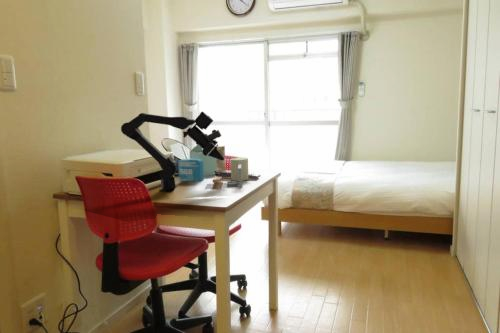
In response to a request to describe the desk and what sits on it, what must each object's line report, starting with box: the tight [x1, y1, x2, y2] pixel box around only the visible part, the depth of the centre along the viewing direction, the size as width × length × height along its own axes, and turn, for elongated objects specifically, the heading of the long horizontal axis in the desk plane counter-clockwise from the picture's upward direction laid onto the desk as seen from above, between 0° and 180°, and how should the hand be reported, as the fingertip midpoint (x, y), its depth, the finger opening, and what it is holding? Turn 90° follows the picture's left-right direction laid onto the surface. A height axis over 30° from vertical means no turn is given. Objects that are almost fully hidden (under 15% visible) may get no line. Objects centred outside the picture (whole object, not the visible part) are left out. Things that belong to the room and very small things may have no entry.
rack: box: [204, 164, 244, 190], centre depth 182 cm, size 18×12×10 cm
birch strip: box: [216, 145, 227, 173], centre depth 181 cm, size 4×2×12 cm, turn 90°
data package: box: [177, 158, 205, 183], centre depth 199 cm, size 12×4×12 cm, turn 76°
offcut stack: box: [212, 176, 224, 189], centre depth 183 cm, size 4×10×4 cm, turn 0°
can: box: [229, 157, 249, 182], centre depth 197 cm, size 9×9×12 cm
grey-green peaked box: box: [189, 144, 217, 178], centre depth 216 cm, size 16×8×20 cm, turn 80°
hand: (223, 159), depth 181 cm, fingers closed on birch strip, 2 cm apart
